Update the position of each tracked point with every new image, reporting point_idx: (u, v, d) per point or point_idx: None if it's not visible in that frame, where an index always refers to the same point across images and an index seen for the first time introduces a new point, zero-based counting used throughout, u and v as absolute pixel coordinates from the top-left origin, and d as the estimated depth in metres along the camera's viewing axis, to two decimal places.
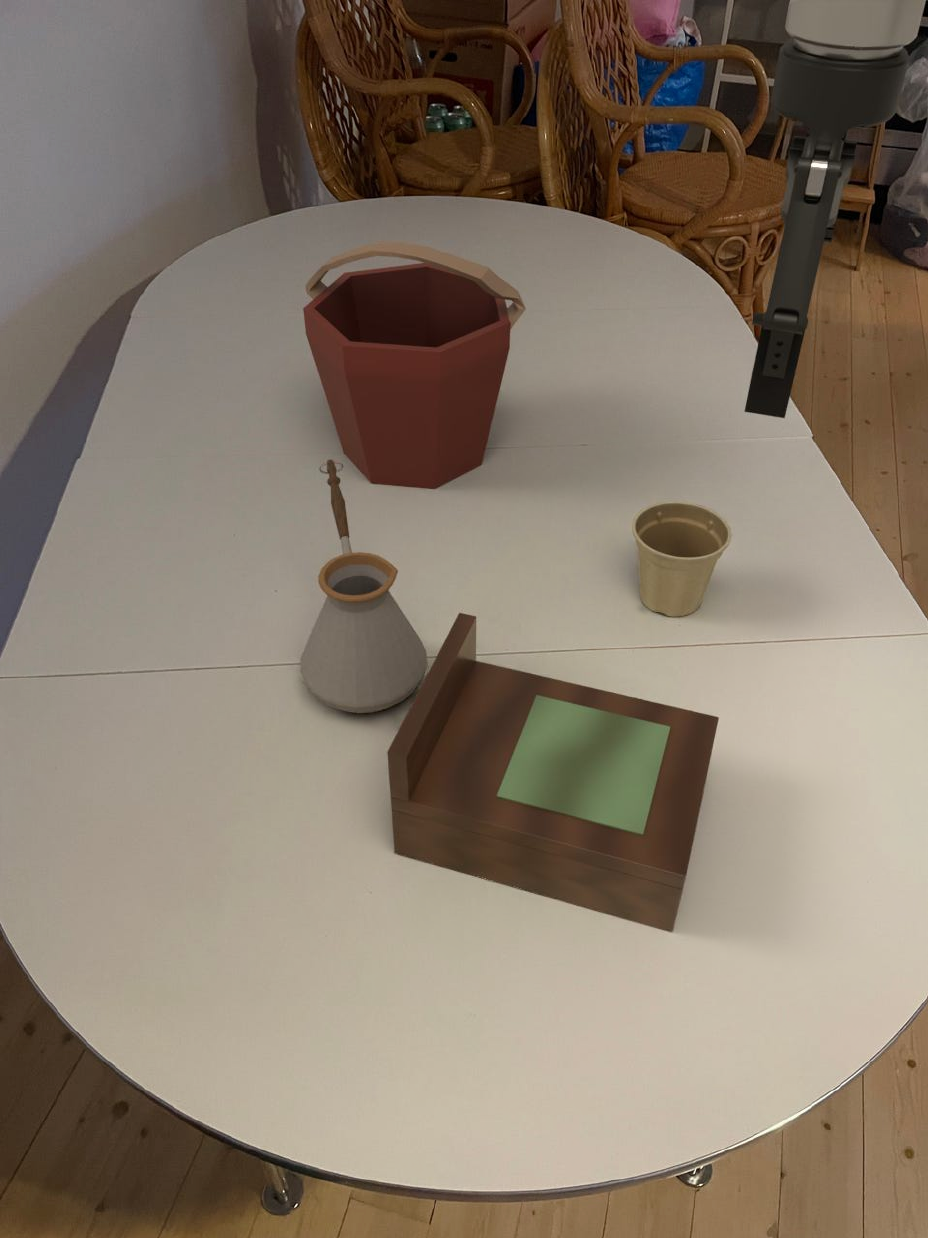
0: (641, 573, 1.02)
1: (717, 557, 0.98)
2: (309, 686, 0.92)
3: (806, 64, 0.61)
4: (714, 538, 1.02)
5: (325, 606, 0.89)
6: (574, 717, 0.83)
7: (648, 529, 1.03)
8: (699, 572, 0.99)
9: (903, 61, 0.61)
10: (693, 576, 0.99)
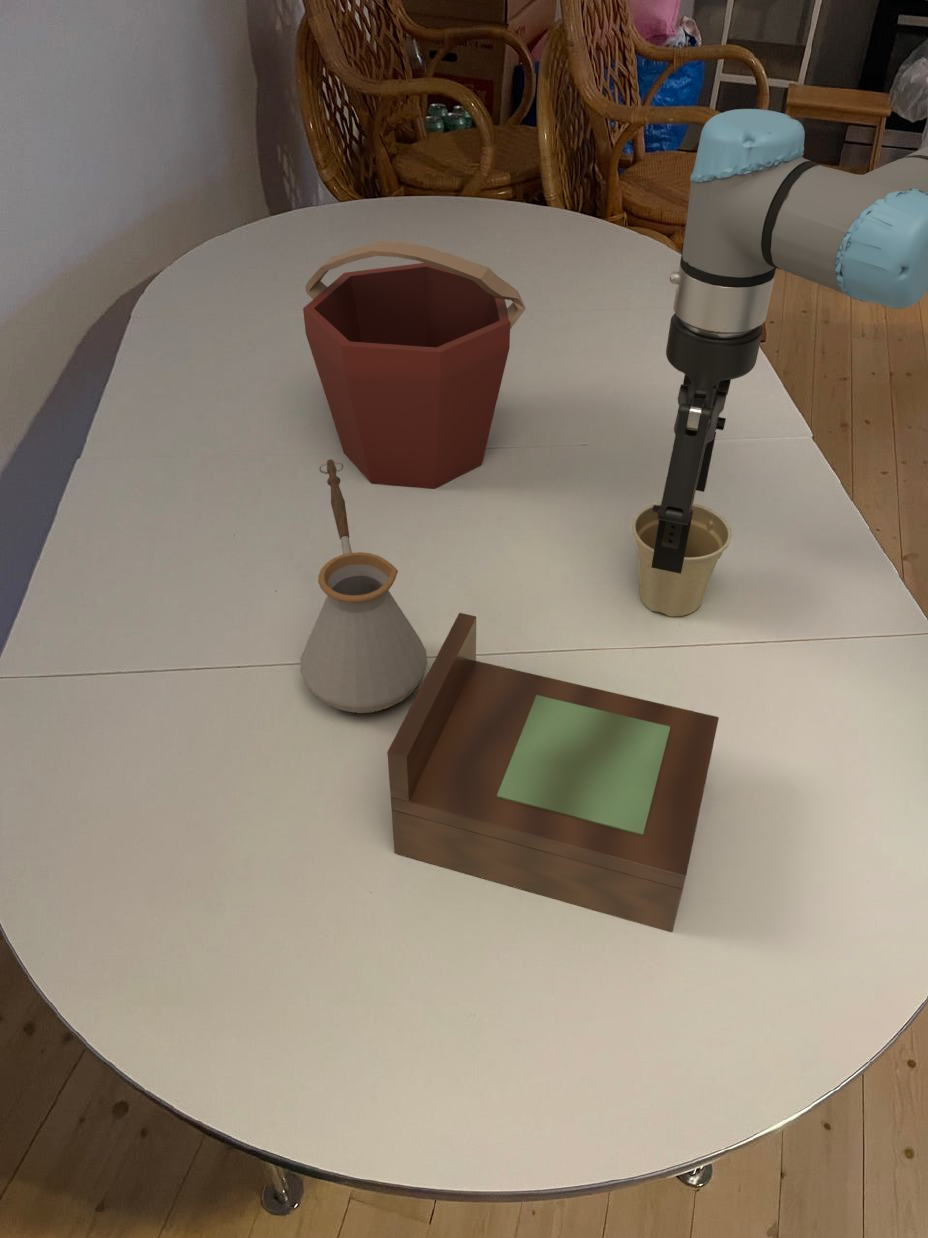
0: (641, 573, 1.02)
1: (717, 557, 0.98)
2: (309, 686, 0.92)
3: (686, 338, 0.84)
4: (714, 538, 1.02)
5: (325, 606, 0.89)
6: (574, 717, 0.83)
7: (648, 529, 1.03)
8: (699, 572, 0.99)
9: (756, 336, 0.84)
10: (693, 576, 0.99)
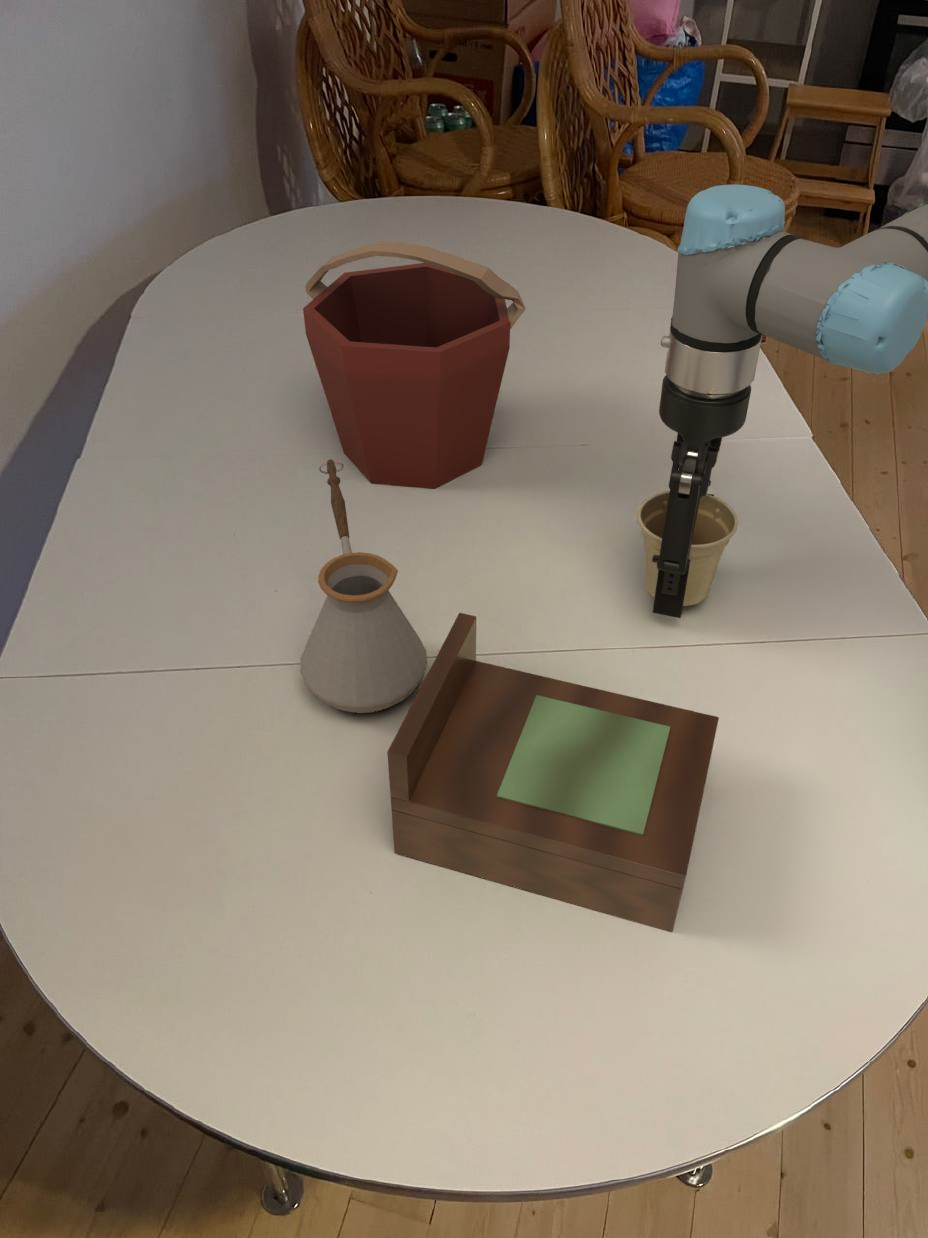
0: (647, 562, 1.01)
1: (724, 544, 0.97)
2: (309, 686, 0.92)
3: (677, 399, 0.88)
4: (721, 526, 1.01)
5: (325, 606, 0.89)
6: (574, 717, 0.83)
7: (654, 518, 1.02)
8: (706, 560, 0.98)
9: (745, 396, 0.88)
10: (699, 564, 0.98)
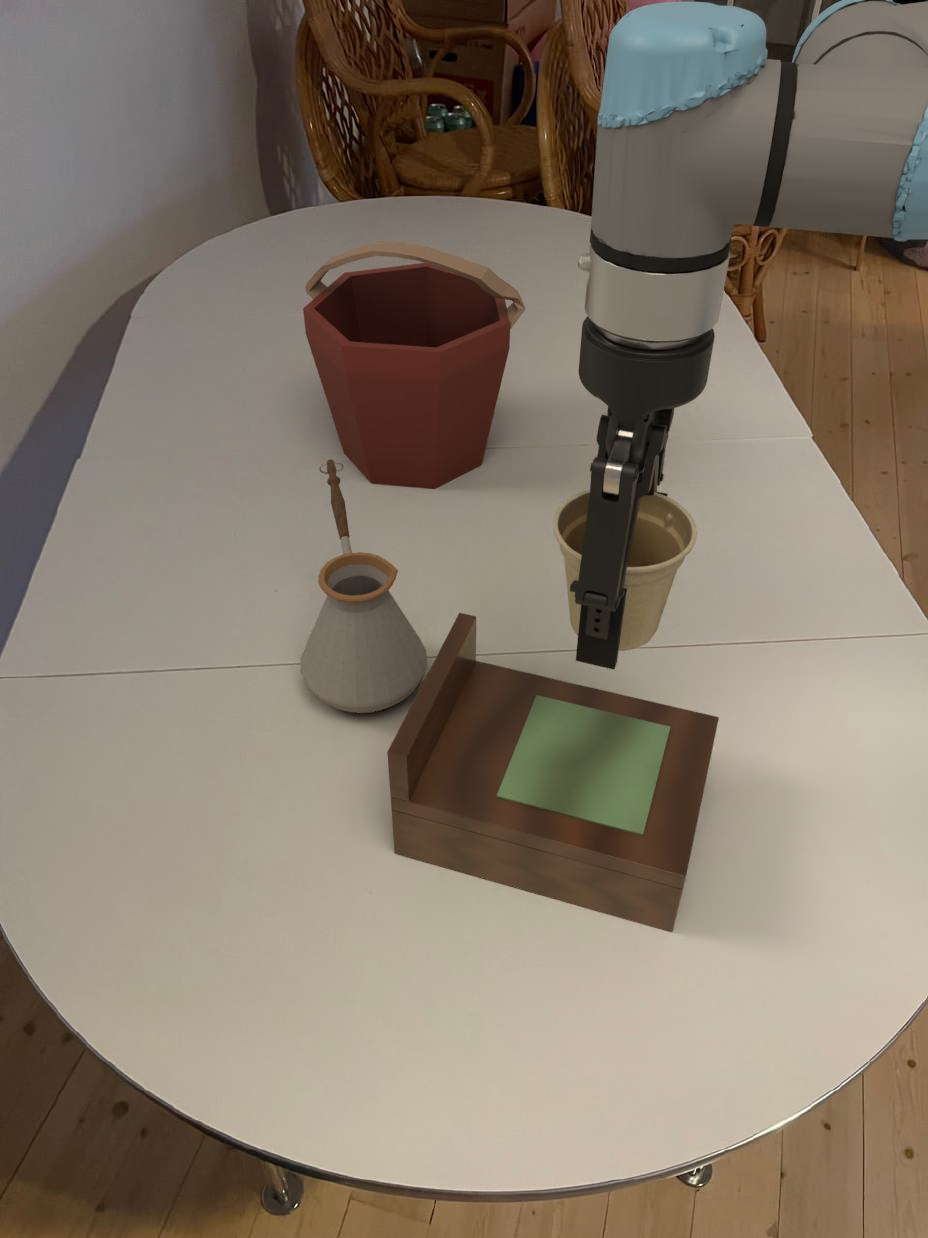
0: (569, 589, 0.71)
1: (675, 566, 0.67)
2: (309, 686, 0.92)
3: (601, 350, 0.58)
4: (674, 539, 0.71)
5: (325, 606, 0.89)
6: (574, 717, 0.83)
7: (580, 526, 0.72)
8: (650, 588, 0.68)
9: (704, 346, 0.58)
10: (640, 595, 0.68)
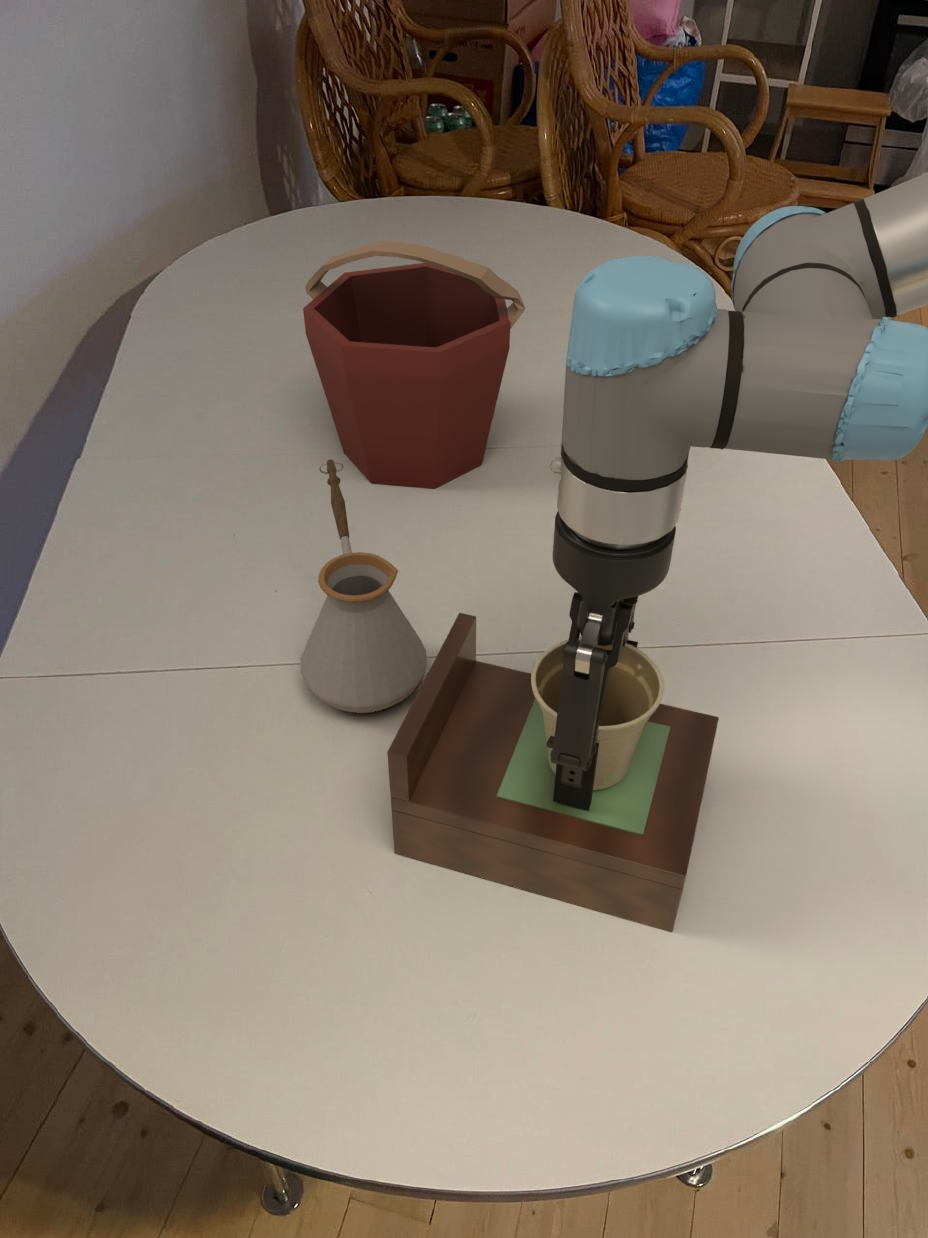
0: (546, 734, 0.77)
1: (644, 721, 0.73)
2: (309, 686, 0.92)
3: (572, 547, 0.63)
4: (644, 688, 0.76)
5: (325, 606, 0.89)
6: None
7: (557, 674, 0.78)
8: (620, 740, 0.73)
9: (666, 543, 0.64)
10: (612, 746, 0.73)
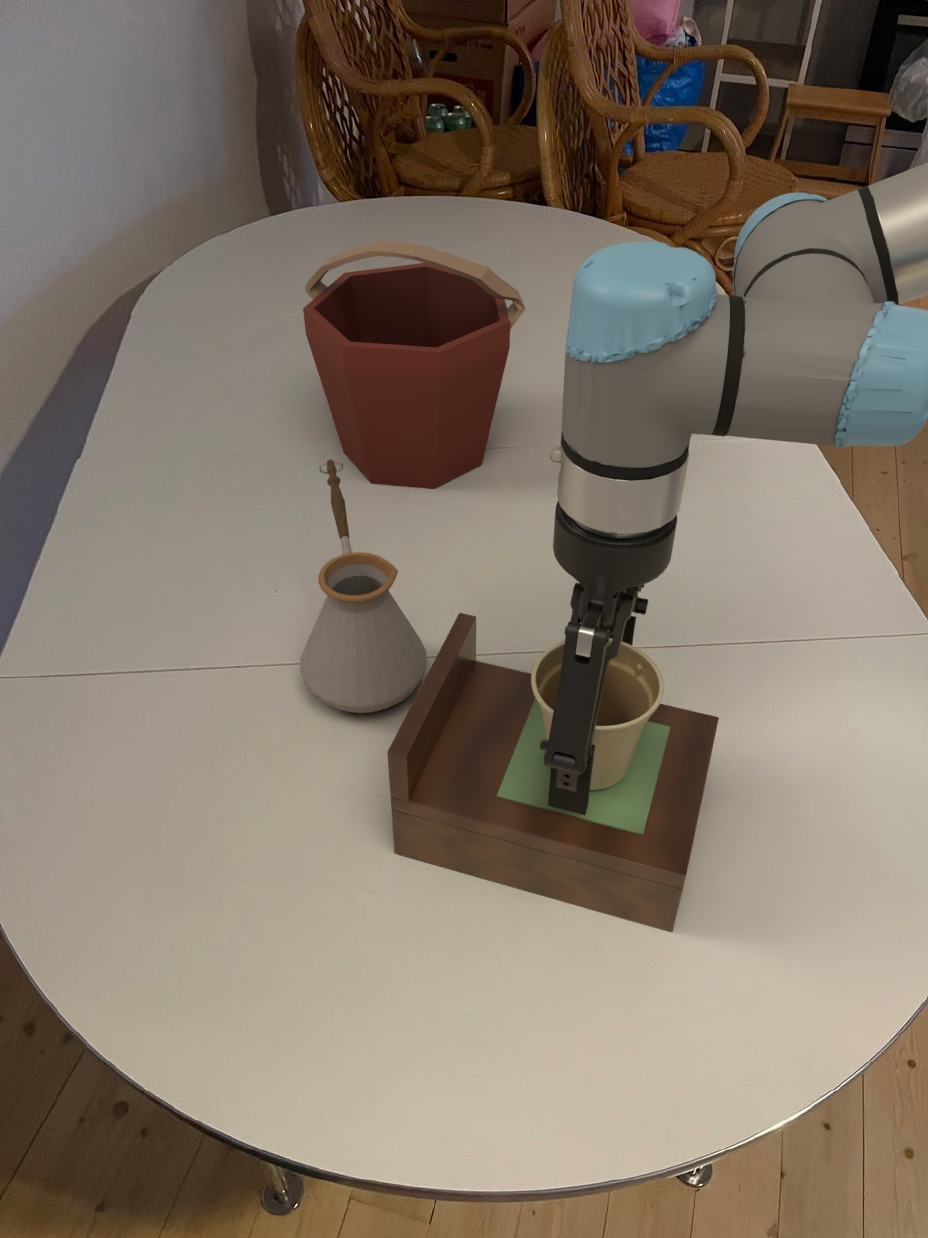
0: (546, 734, 0.77)
1: (644, 721, 0.73)
2: (309, 686, 0.92)
3: (573, 537, 0.63)
4: (644, 688, 0.76)
5: (325, 606, 0.89)
6: None
7: (557, 674, 0.78)
8: (620, 740, 0.73)
9: (667, 532, 0.63)
10: (611, 746, 0.73)
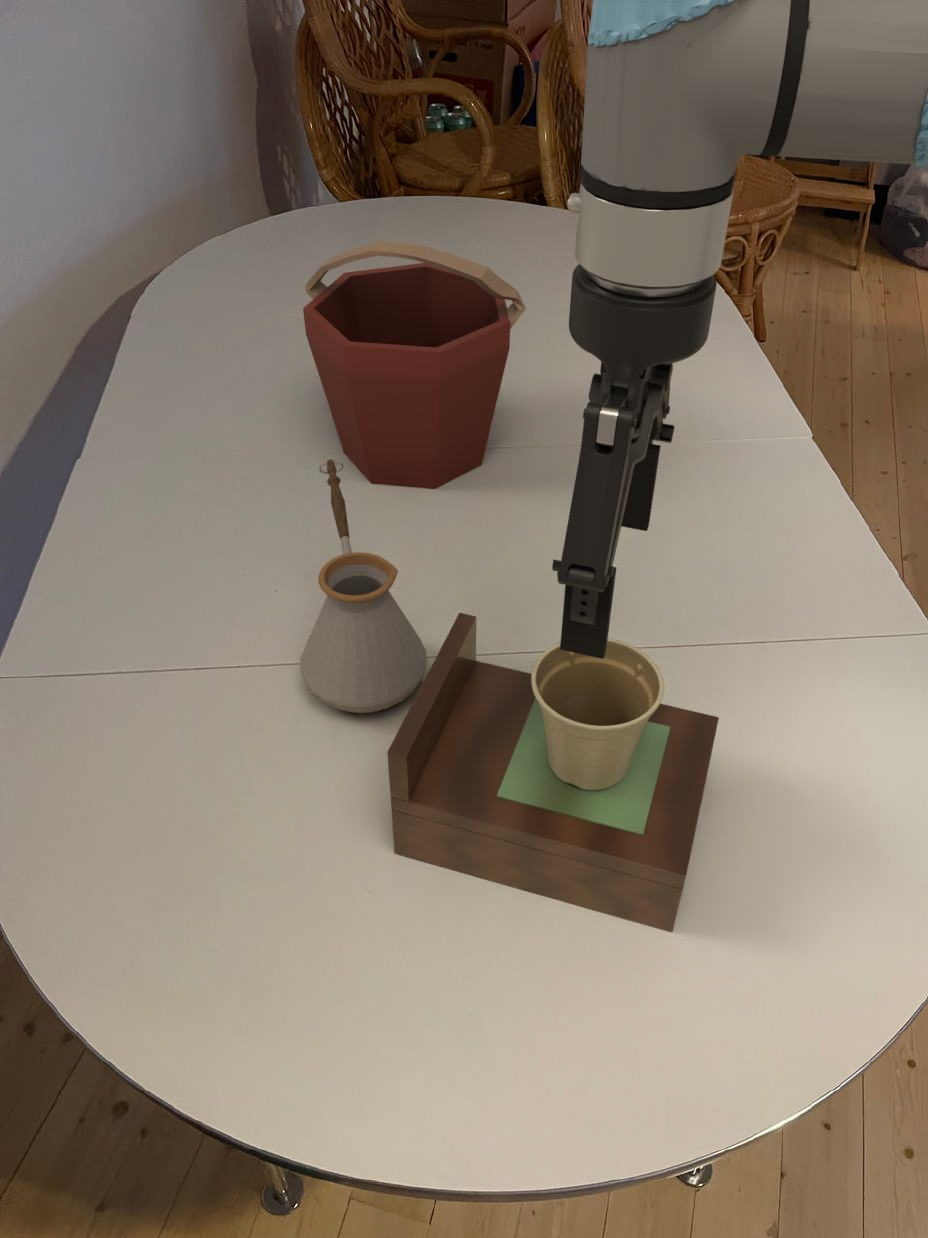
0: (546, 734, 0.77)
1: (644, 721, 0.73)
2: (309, 686, 0.92)
3: (593, 299, 0.53)
4: (644, 688, 0.76)
5: (325, 606, 0.89)
6: None
7: (557, 673, 0.78)
8: (620, 740, 0.73)
9: (706, 294, 0.53)
10: (611, 746, 0.73)
